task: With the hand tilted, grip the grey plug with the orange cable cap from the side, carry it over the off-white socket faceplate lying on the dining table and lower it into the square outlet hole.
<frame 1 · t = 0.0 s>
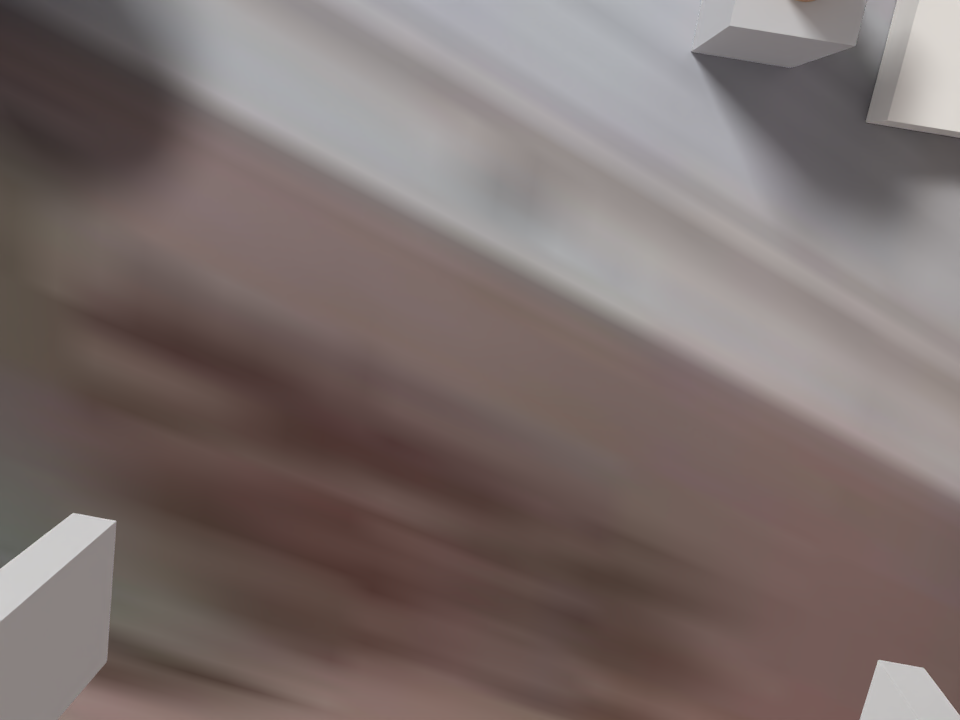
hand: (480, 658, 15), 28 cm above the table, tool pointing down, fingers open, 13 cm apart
plug: (752, 6, 38), on the table
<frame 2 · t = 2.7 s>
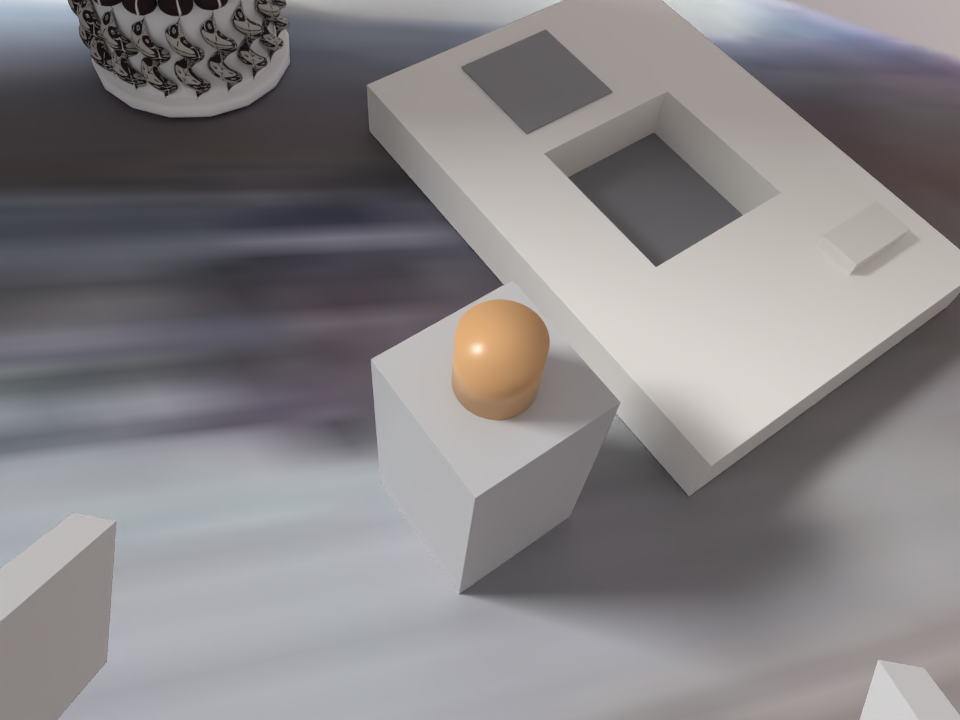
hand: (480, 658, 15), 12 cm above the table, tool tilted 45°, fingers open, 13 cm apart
decorative candle: (195, 55, 38), on the table, touching arm
socket plate: (646, 215, 35), on the table
plug: (475, 499, 29), on the table
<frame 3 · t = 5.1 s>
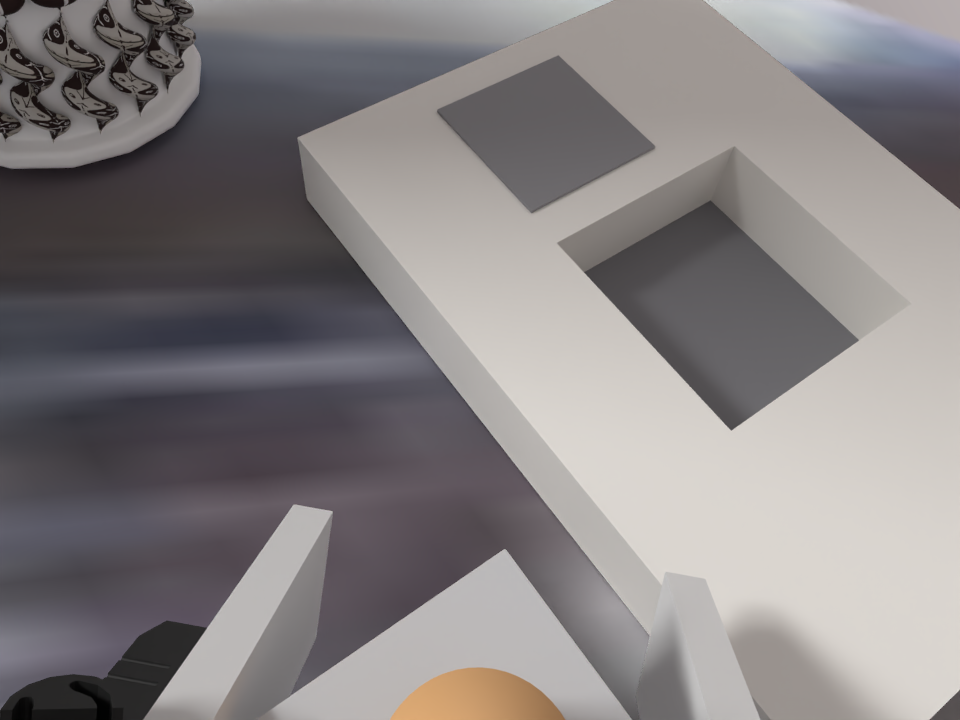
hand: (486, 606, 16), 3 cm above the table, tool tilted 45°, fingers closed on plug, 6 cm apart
decorative candle: (66, 83, 27), on the table, touching arm
socket plate: (704, 326, 24), on the table
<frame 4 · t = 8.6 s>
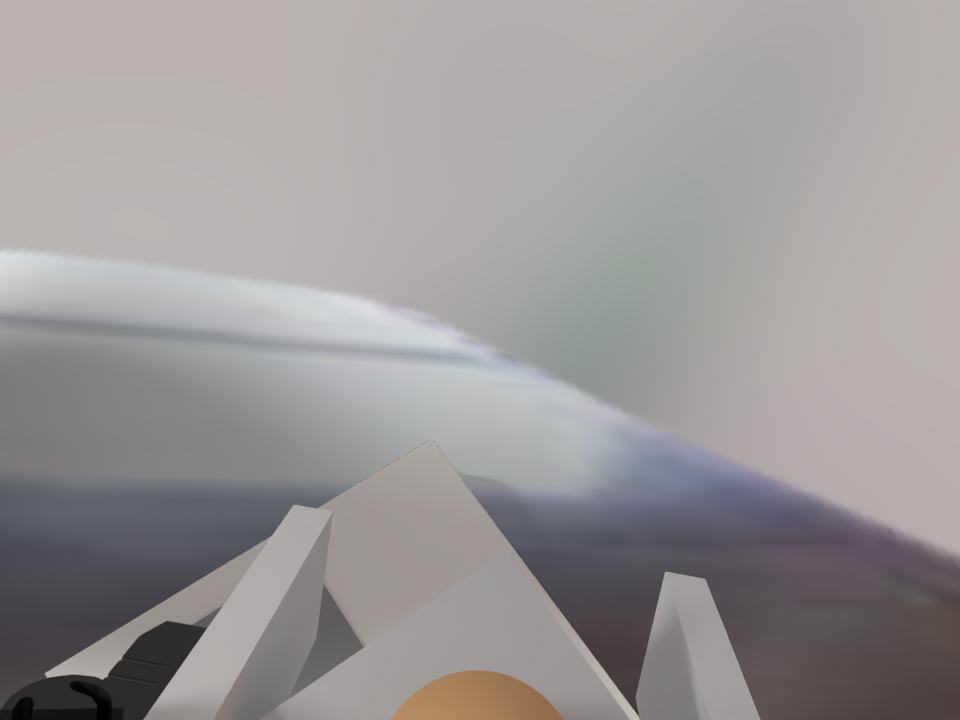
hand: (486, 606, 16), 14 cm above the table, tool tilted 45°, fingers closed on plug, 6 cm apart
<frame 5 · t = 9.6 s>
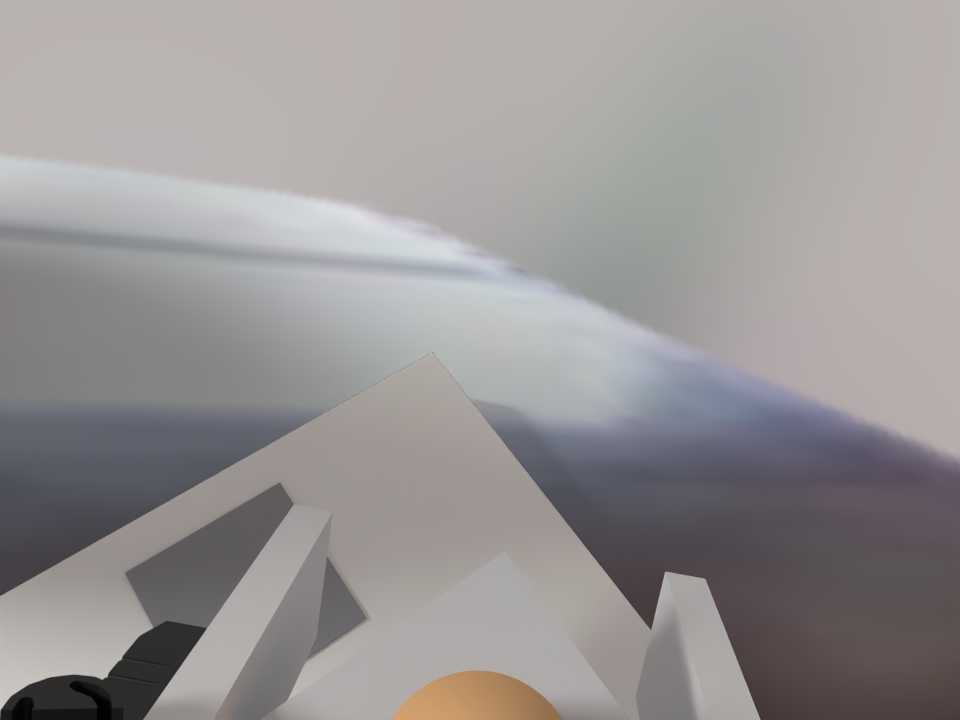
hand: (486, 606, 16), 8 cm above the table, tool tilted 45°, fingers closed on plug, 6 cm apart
when the fingers open (4 cm above the table, at t = 11.0 s): plug stays where it is, resting on socket plate.
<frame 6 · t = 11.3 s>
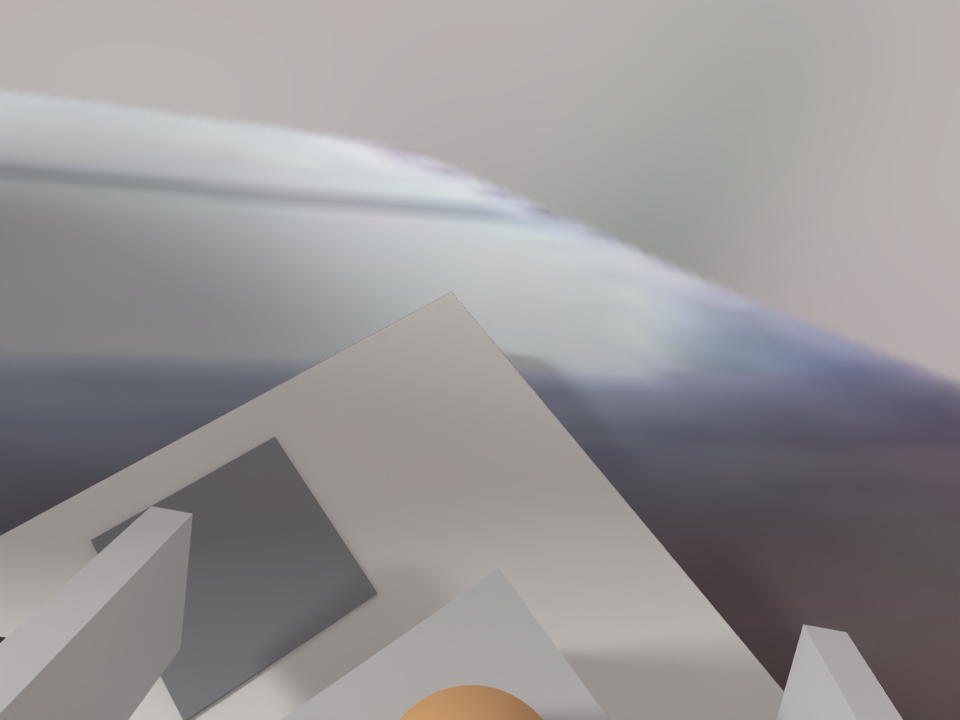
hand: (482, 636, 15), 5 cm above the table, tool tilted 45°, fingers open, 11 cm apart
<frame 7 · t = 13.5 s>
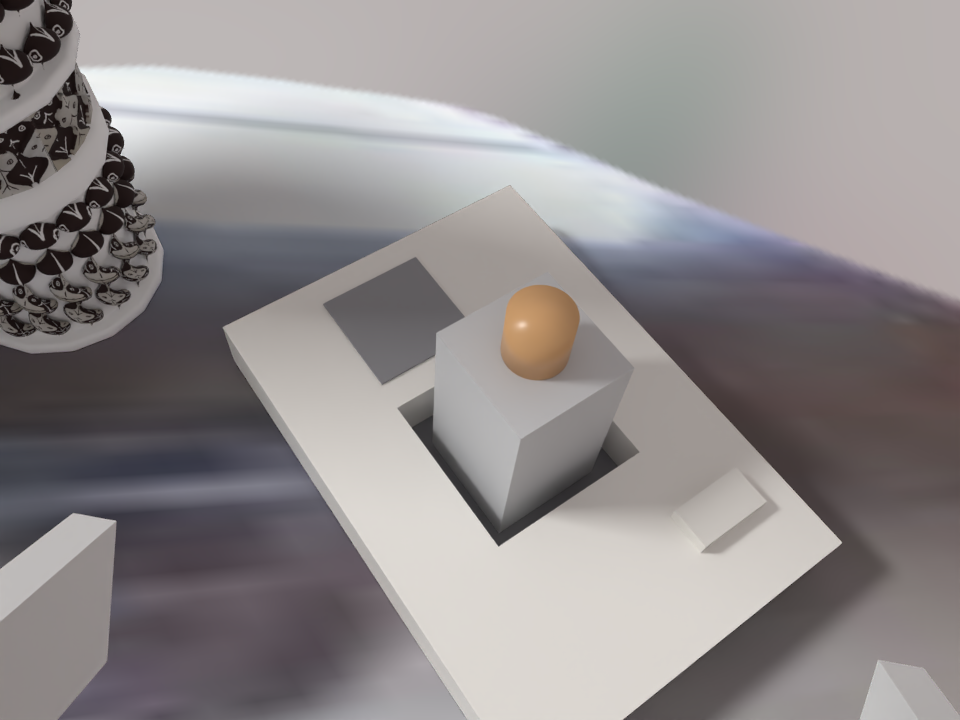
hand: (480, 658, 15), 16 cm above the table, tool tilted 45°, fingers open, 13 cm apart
decorative candle: (66, 272, 38), on the table, touching arm
socket plate: (511, 458, 34), on the table
plug: (511, 457, 34), resting on socket plate
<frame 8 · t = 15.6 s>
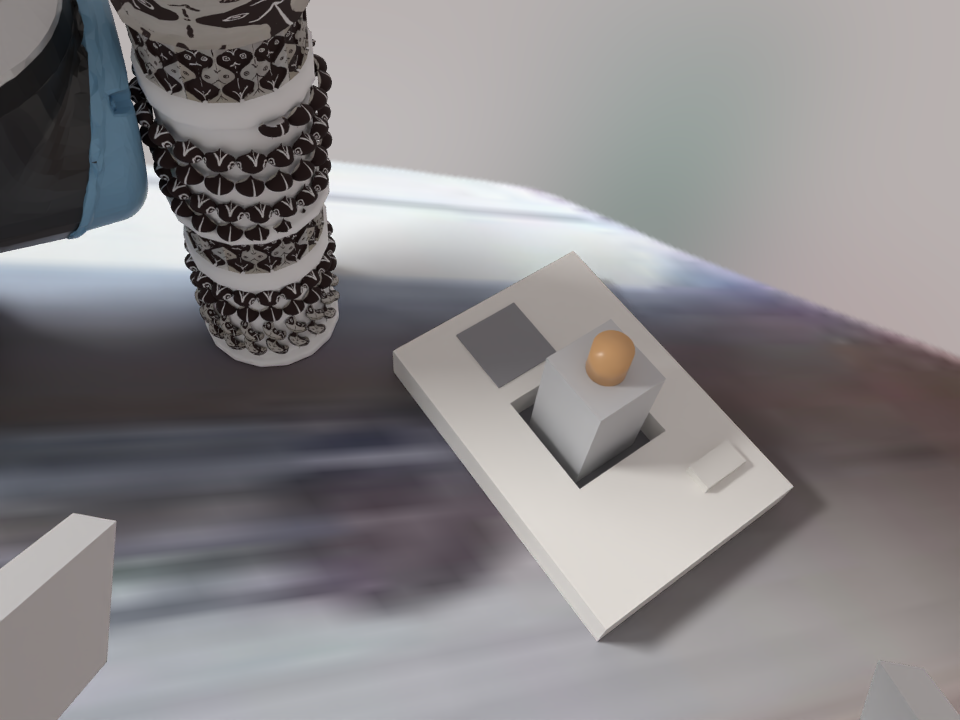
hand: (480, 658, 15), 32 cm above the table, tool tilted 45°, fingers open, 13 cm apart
decorative candle: (273, 312, 56), on the table, touching arm
socket plate: (580, 435, 53), on the table
plug: (580, 435, 52), resting on socket plate
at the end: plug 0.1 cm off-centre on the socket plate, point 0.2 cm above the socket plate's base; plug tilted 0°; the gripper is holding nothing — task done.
